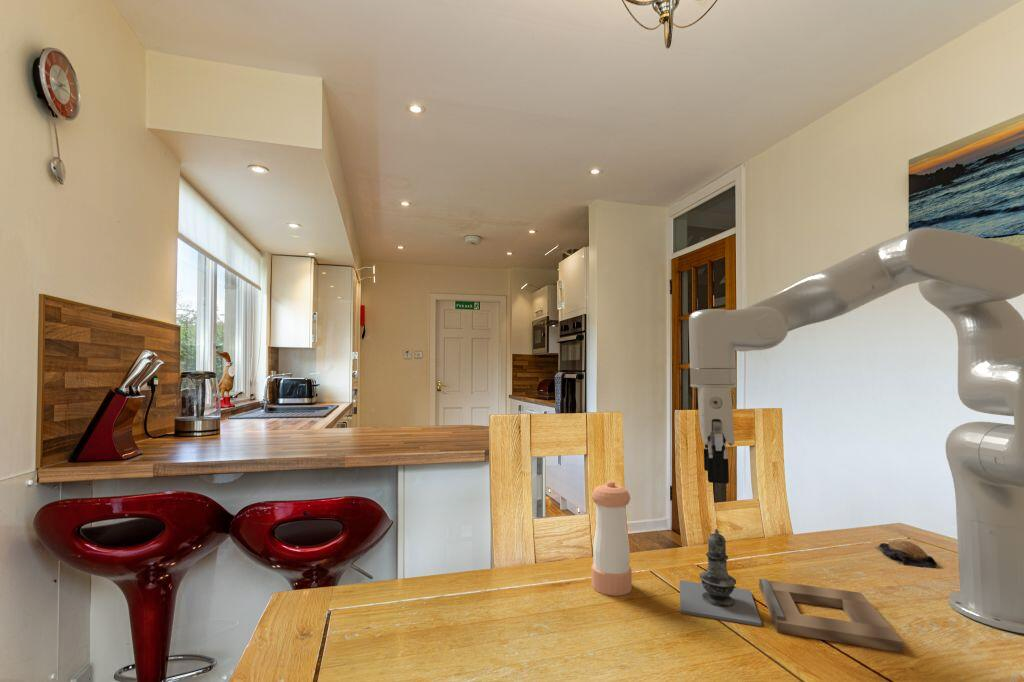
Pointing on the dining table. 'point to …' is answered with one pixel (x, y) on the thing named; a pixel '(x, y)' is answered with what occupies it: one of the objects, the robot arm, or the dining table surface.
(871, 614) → the brown wooden square frame
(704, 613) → the slate mat
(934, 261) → the robot arm
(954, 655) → the dining table surface
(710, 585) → the salt shaker
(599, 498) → the pepper shaker
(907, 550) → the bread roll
